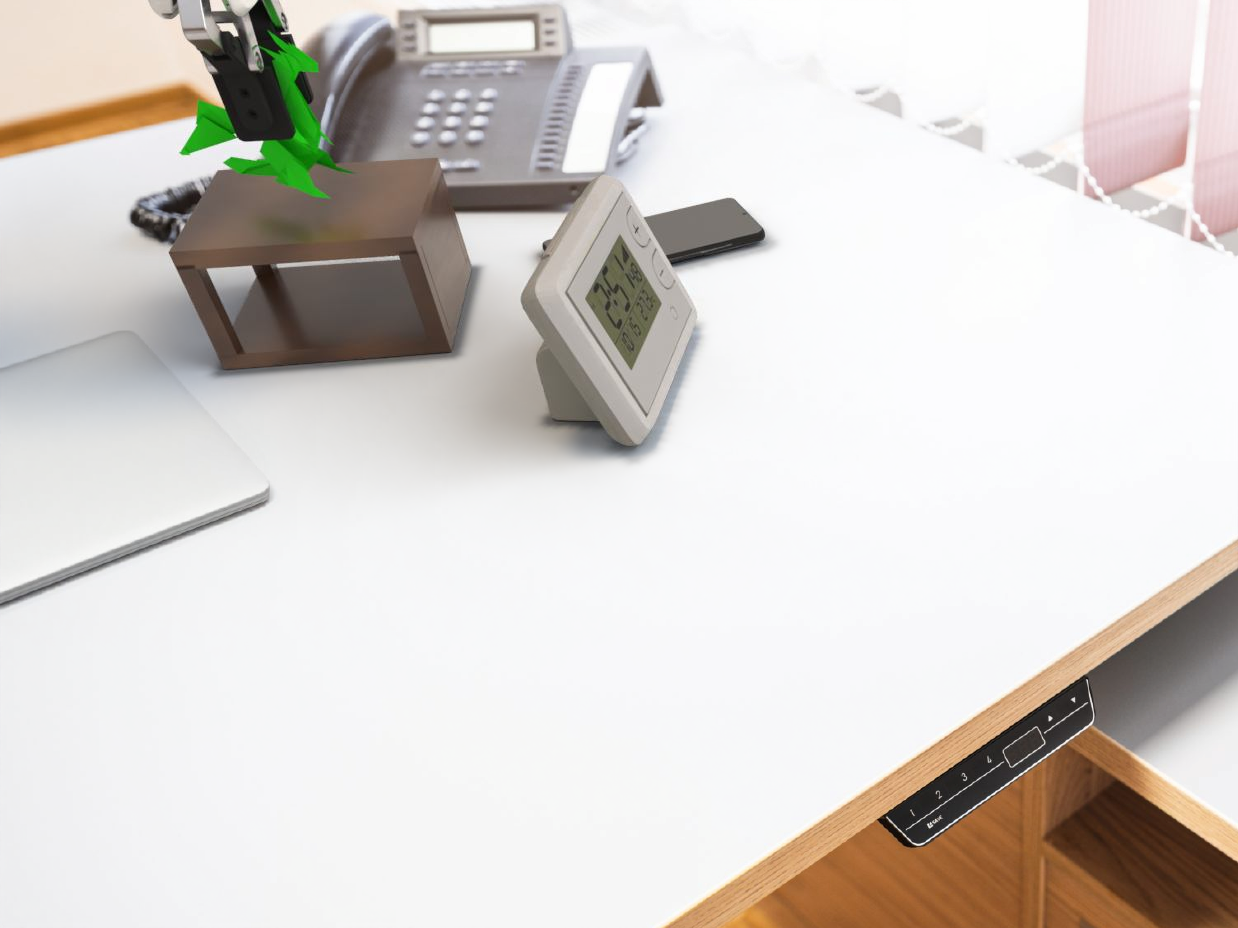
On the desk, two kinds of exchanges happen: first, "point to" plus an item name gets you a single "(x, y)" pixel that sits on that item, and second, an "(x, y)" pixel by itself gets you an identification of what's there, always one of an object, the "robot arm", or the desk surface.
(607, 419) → the digital clock
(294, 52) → the figurine
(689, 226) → the smartphone
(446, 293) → the stand
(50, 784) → the desk surface
